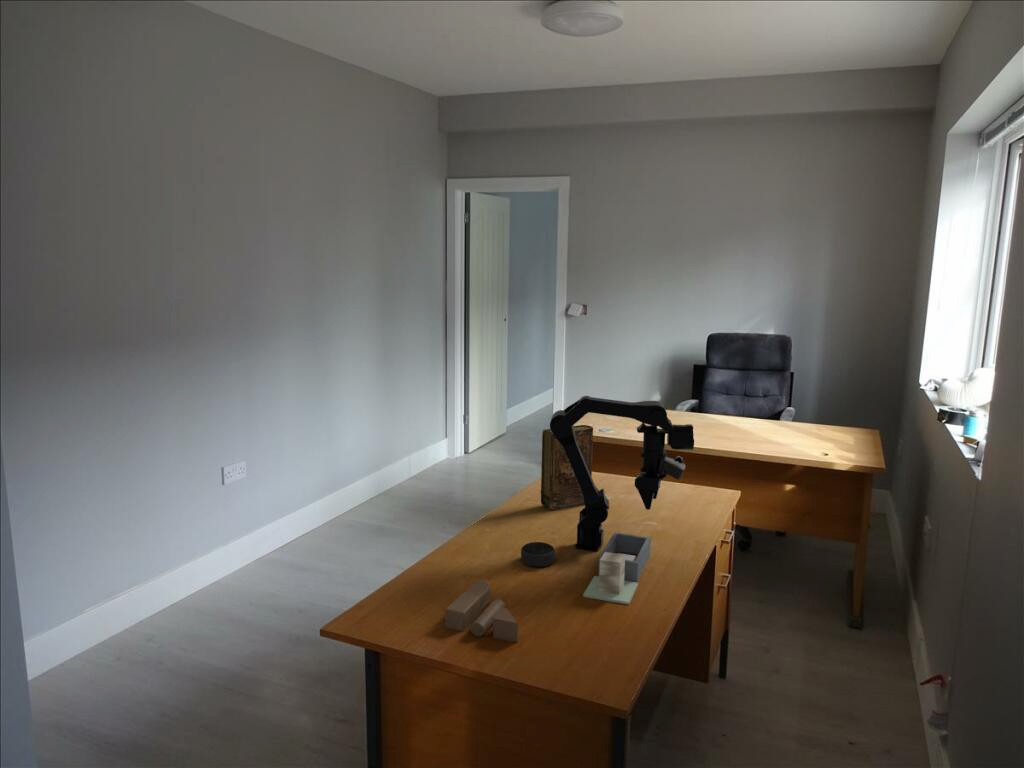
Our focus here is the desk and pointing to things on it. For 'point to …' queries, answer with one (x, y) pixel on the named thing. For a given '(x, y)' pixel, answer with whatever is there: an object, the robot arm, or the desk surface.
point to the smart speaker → (537, 554)
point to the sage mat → (622, 598)
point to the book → (563, 469)
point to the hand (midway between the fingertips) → (651, 503)
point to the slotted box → (632, 546)
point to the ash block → (612, 573)
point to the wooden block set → (470, 609)
